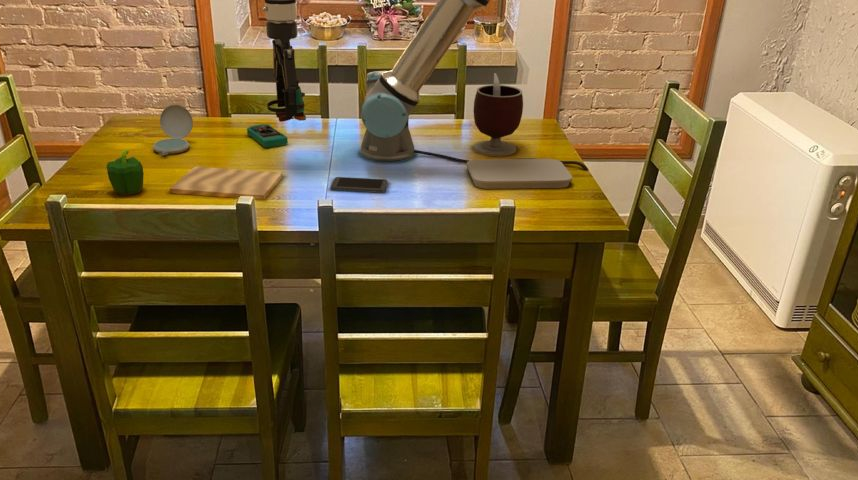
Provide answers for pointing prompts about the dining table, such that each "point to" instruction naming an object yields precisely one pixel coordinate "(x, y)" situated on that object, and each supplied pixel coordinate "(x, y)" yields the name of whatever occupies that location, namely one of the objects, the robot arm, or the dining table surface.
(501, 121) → the mate gourd
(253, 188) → the serving board
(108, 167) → the bell pepper
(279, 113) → the binoculars
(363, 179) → the cell phone
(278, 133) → the digital multimeter
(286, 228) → the dining table surface
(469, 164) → the tablet
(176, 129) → the grey compact mirror
